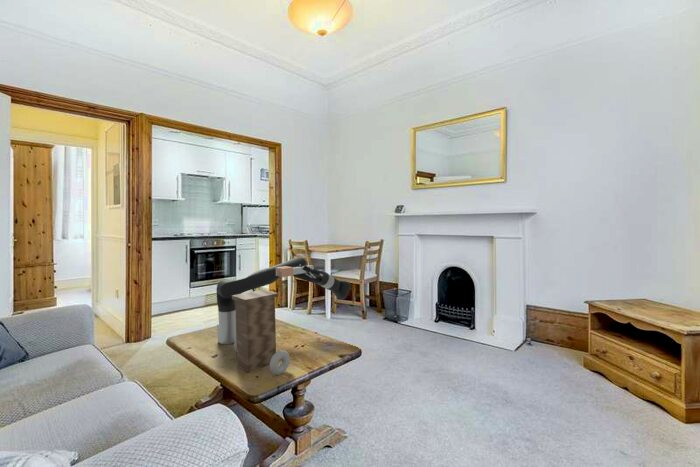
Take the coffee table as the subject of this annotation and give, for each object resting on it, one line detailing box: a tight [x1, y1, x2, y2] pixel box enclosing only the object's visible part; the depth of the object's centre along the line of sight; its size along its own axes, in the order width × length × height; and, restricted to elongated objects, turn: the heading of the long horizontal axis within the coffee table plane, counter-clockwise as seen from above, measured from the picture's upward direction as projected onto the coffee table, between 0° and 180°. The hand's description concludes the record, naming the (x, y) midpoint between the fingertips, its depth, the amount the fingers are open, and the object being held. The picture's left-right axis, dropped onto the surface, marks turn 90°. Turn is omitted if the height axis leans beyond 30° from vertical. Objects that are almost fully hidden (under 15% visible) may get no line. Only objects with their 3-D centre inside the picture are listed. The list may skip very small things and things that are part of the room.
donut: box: [269, 349, 291, 376], centre depth 140 cm, size 10×4×10 cm, turn 143°
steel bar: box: [276, 264, 315, 278], centre depth 164 cm, size 20×6×4 cm, turn 136°
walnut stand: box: [232, 289, 279, 374], centre depth 149 cm, size 16×12×32 cm
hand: (301, 266), depth 167 cm, fingers closed on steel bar, 3 cm apart
